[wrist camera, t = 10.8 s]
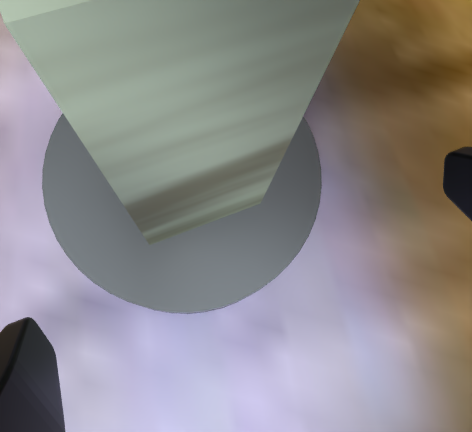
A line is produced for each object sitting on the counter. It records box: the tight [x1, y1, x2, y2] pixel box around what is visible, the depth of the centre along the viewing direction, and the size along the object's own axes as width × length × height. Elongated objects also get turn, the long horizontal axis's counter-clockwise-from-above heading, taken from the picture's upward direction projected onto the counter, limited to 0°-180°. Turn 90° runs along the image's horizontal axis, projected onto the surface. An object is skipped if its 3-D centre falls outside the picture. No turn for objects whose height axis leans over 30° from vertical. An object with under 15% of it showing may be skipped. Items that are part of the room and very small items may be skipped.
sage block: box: [0, 0, 360, 245], centre depth 12 cm, size 5×5×13 cm
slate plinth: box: [42, 114, 321, 314], centre depth 19 cm, size 12×12×3 cm
